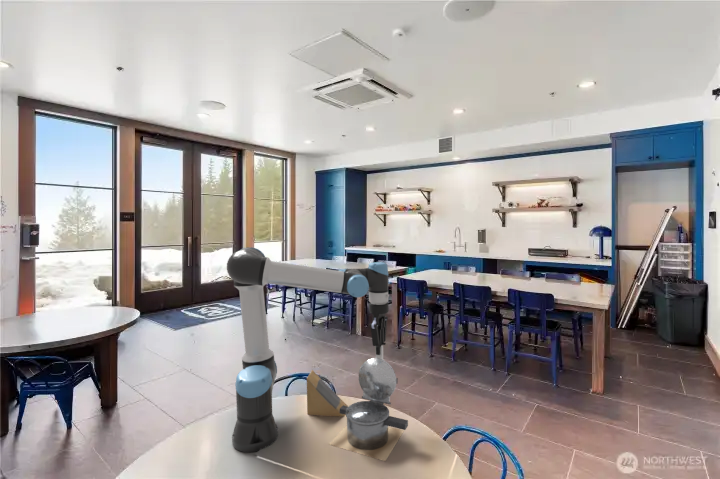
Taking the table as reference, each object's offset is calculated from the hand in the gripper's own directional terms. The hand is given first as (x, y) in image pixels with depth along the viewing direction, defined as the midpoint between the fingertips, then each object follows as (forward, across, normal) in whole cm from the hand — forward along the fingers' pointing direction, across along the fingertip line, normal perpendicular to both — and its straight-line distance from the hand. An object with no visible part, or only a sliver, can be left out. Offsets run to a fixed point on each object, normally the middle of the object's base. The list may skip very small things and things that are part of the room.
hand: (379, 361), depth 144 cm
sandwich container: (+19, -10, +17) cm, 28 cm away
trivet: (+19, -20, -4) cm, 28 cm away
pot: (+18, -20, -6) cm, 28 cm away
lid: (+2, -12, -4) cm, 13 cm away
